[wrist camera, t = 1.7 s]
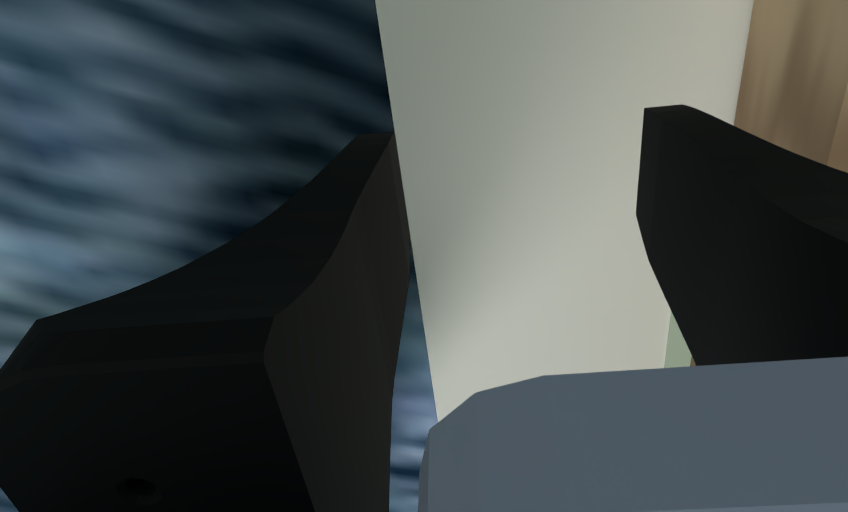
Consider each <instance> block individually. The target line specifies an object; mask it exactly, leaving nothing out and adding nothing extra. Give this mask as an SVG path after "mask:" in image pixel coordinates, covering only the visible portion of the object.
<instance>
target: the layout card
mask: <svg viewBox="0 0 848 512" xmlns="http://www.w3.org/2000/svg"><path fill="white" fill-rule="evenodd" d="M375 3H376V10H377V17H378V23H379V30H380V37H381V43H382V50H383V57H384V63H385V70H386V77H387V83H388V90H389V97H390V103H391V110H392V117H393V123H394V130H395V136H396V143H397V150H398V156H399V163H400V170H401V176H402V183H403V190H404V197H405V203H406V210H407V217H408V223H409V230H410V237H411V244H412V250H413V257H414V264H415V270H416V277H417V284H418V290H419V297H420V304H421V310H422V317H423V324H424V330H425V337H426V344H427V350H428V357H429V364H430V371H431V377H432V384H433V391H434V397H435V404H436V411H437V417H438V422H439V421H441V420H442V419H443V418H444V417H446V416H447V415H448V414H449V413H451V412H452V411H453V410H454V409H456V408H457V407H458V406H459V405H460V404H462V403H463V402H464V401H465V400H467V399H468V398H469V397H470V396H472V395H473V394H474V393H476V392H479V391H483V390H487V389H491V388H495V387H498V386H502V385H506V384H510V383H514V382H518V381H522V380H526V379H530V378H534V377H538V376H542V375H558V374H574V373H590V372H606V371H623V370H639V369H655V368H671V367H688V366H690V363H691V356H692V355H691V353H690V351H689V348H688V346H687V344H686V342H685V340H684V338H683V335H682V333H681V331H680V329H679V327H678V325H677V322H676V320H675V318H674V316H673V314H672V312H671V309H670V307H669V305H668V303H667V301H666V299H665V296H664V294H663V292H662V290H661V287H660V285H659V283H658V281H657V279H656V276H655V274H654V272H653V270H652V267H651V265H650V263H649V260H648V257H647V254H646V250H645V247H644V243H643V240H642V236H641V232H640V229H639V225H638V221H637V217H636V204H637V191H638V179H639V166H640V153H641V141H642V128H643V115H644V108H649V107H659V106H670V105H681V104H683V105H687V106H690V107H693V108H696V109H698V110H701V111H703V112H705V113H708V114H710V115H712V116H714V117H716V118H719V119H721V120H723V121H725V122H727V123H729V124H731V125H733V126H734V120H735V114H736V107H737V101H738V95H739V89H740V83H741V77H742V71H743V64H744V58H745V52H746V46H747V40H748V34H749V27H750V21H751V15H752V9H753V3H754V0H375Z"/></svg>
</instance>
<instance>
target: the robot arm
mask: <svg viewBox="0 0 848 512" xmlns="http://www.w3.org/2000/svg"><path fill="white" fill-rule="evenodd" d="M636 217H637V221H638V225H639V229H640V232H641V236H642V240H643V243H644V247H645V250H646V254H647V257H648V260H649V263H650V265H651V267H652V270H653V272H654V274H655V276H656V279H657V281H658V283H659V285H660V287H661V290H662V292H663V294H664V296H665V299H666V301H667V303H668V305H669V307H670V309H671V312H672V314H673V316H674V318H675V320H676V322H677V325H678V327H679V329H680V331H681V333H682V335H683V338H684V340H685V342H686V344H687V346H688V348H689V351H690V353H691V355H692V357H693V359H694V362H695V364H696V366H688V367H671V368H655V369H639V370H623V371H606V372H590V373H574V374H558V375H542V376H538V377H534V378H530V379H526V380H522V381H518V382H514V383H510V384H506V385H502V386H498V387H495V388H491V389H487V390H483V391H479V392H476V393H474V394H473V395H472V396H470V397H469V398H468V399H467V400H465V401H464V402H463V403H462V404H460V405H459V406H458V407H457V408H456V409H454V410H453V411H452V412H451V413H449V414H448V415H447V416H446V417H444V418H443V419H442V420H441V421H439V422H438V423H437V424H436V425H434V426H433V427H432V428H431V429H430V430H429V434H428V438H427V442H426V447H425V451H424V455H423V459H422V464H421V468H420V475H419V503H418V512H848V173H847V172H844V171H841V170H838V169H835V168H832V167H829V166H826V165H824V164H821V163H819V162H816V161H814V160H811V159H809V158H806V157H803V156H801V155H798V154H796V153H793V152H791V151H789V150H786V149H784V148H782V147H779V146H777V145H775V144H772V143H770V142H768V141H766V140H763V139H761V138H759V137H757V136H755V135H753V134H750V133H748V132H746V131H744V130H742V129H740V128H738V127H735V126H733V125H731V124H729V123H727V122H725V121H723V120H721V119H719V118H716V117H714V116H712V115H710V114H708V113H705V112H703V111H701V110H698V109H696V108H693V107H690V106H687V105H683V104H681V105H670V106H659V107H649V108H644V115H643V128H642V141H641V153H640V166H639V179H638V191H637V204H636ZM409 272H410V230H409V223H408V217H407V210H406V203H405V197H404V190H403V183H402V176H401V170H400V163H399V156H398V150H397V143H396V136H395V131H392V132H381V133H370V134H360V135H358V136H357V137H356V138H354V139H353V140H352V141H351V142H350V143H349V144H348V145H347V146H346V147H345V148H344V149H343V150H342V151H341V152H340V153H339V154H338V155H337V156H336V157H335V158H334V159H333V160H332V161H331V162H330V163H329V164H328V165H327V166H326V167H325V168H324V169H323V170H322V171H321V172H320V173H319V174H317V175H316V176H315V177H314V178H313V179H312V180H311V181H310V182H309V183H308V184H307V185H305V186H304V187H303V188H302V189H301V190H300V191H298V192H297V193H296V194H295V195H294V196H292V197H291V198H290V199H289V200H288V201H287V202H285V203H284V204H283V205H282V206H281V207H279V208H278V209H277V210H276V211H274V212H273V213H272V214H270V215H269V216H268V217H266V218H265V219H263V220H262V221H261V222H259V223H258V224H256V225H255V226H253V227H252V228H250V229H249V230H247V231H246V232H244V233H243V234H241V235H240V236H238V237H236V238H235V239H233V240H231V241H230V242H228V243H226V244H224V245H223V246H221V247H219V248H217V249H215V250H213V251H211V252H209V253H208V254H206V255H204V256H202V257H200V258H198V259H196V260H195V261H193V262H191V263H189V264H187V265H185V266H183V267H181V268H179V269H177V270H174V271H172V272H170V273H168V274H166V275H163V276H161V277H159V278H157V279H154V280H152V281H149V282H147V283H144V284H142V285H139V286H137V287H134V288H132V289H129V290H127V291H124V292H122V293H119V294H116V295H113V296H111V297H108V298H105V299H102V300H99V301H96V302H92V303H89V304H86V305H83V306H80V307H77V308H74V309H71V310H68V311H65V312H61V313H58V314H55V315H52V316H49V317H45V318H41V319H38V320H36V321H35V323H34V324H33V325H32V327H31V328H30V329H29V331H28V332H27V334H26V335H25V336H24V338H23V339H22V340H21V342H20V343H19V344H18V346H17V347H16V349H15V350H14V351H13V353H12V354H11V355H10V357H9V358H8V360H7V361H6V362H5V364H4V365H3V366H2V368H1V369H0V487H1V489H2V490H3V491H4V493H5V494H6V495H7V497H8V498H9V499H10V500H11V502H12V503H13V504H14V506H15V507H16V508H17V510H18V511H19V512H389V483H390V445H391V417H392V397H393V387H394V377H395V371H396V364H397V357H398V351H399V344H400V338H401V331H402V325H403V318H404V312H405V305H406V298H407V291H408V284H409Z"/></svg>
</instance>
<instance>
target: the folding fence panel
mask: <svg viewBox="0 0 848 512" xmlns="http://www.w3.org/2000/svg"><path fill="white" fill-rule="evenodd" d="M734 126H735V127H738V128H740V129H742V130H744V131H746V132H748V133H750V134H753V135H755V136H757V137H759V138H761V139H763V140H766V141H768V142H770V143H772V144H775V145H777V146H779V147H782V148H784V149H786V150H789V151H791V152H793V153H796V154H798V155H801V156H803V157H806V158H809V159H811V160H814V161H816V162H819V163H821V164H824V165H826V166H829V167H832V168H835V169H838V170H841V171H844V172H847V173H848V0H754V3H753V9H752V15H751V21H750V27H749V34H748V40H747V46H746V52H745V58H744V64H743V71H742V77H741V83H740V89H739V95H738V101H737V107H736V114H735V120H734Z"/></svg>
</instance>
